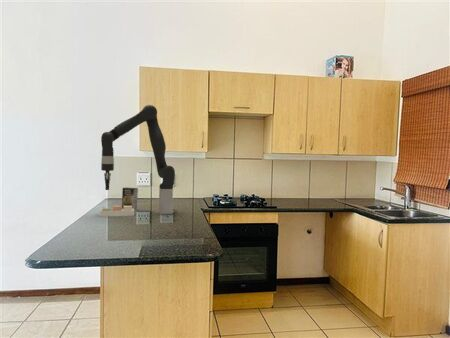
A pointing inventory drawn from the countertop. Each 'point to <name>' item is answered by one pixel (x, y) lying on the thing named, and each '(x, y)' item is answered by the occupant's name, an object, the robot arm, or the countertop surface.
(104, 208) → the sage key
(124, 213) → the cream flat tray
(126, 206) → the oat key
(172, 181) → the robot arm
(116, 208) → the terracotta key
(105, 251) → the countertop surface
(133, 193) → the coffee box
